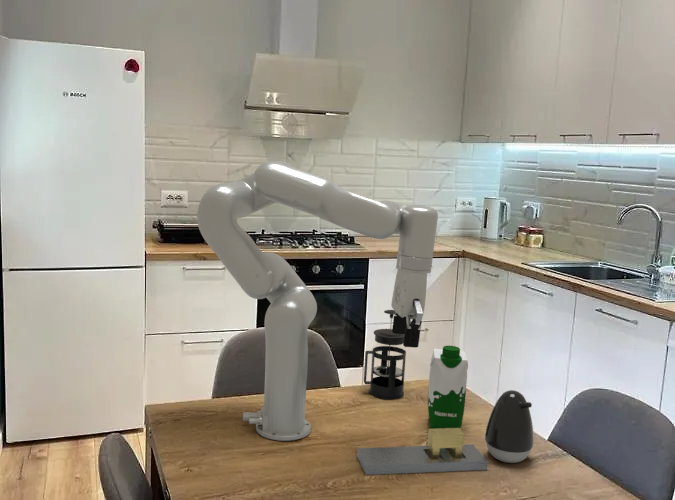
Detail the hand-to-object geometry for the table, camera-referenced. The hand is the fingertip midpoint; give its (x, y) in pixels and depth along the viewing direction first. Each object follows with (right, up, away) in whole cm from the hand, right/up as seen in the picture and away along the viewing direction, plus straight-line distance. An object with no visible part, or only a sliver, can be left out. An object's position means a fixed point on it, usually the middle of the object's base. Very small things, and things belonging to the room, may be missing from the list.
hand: (404, 339), depth 148 cm
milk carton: (+11, -23, +15) cm, 30 cm away
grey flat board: (+3, -25, -5) cm, 26 cm away
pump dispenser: (+22, -26, -1) cm, 34 cm away
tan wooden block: (+8, -25, -4) cm, 27 cm away
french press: (-2, -19, +35) cm, 40 cm away
